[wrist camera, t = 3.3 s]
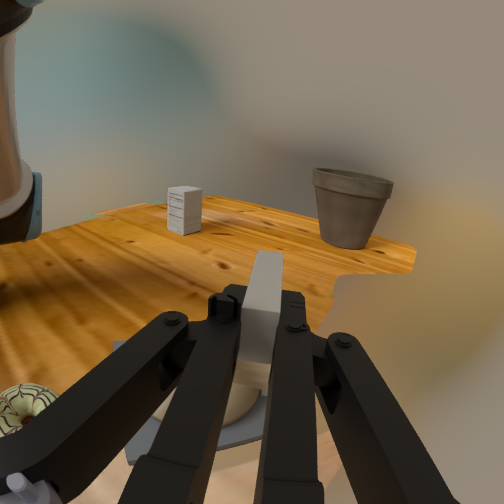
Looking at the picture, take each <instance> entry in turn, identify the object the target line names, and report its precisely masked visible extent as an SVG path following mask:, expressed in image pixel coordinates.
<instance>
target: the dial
mask: <svg viewBox="0 0 504 504" xmlns="http://www.w3.org/2000/svg"><path fill="white" fill-rule="evenodd" d="M237 358H238V356H237ZM270 369H271V364H264V363H256V362H249V361H242V360H237V363H236V370H235V374H234V379H233V383H232V387H231V391H230V395H229V400H228V404H227V408H226V412H225V416H224V420H223V424H222V427H225V426H227V425H229V424H232V423H234V422H236V421H237V420H239V419H240V418H242V417H243V416H244V415H246V414H247V413H248V412H249V410H250V409H251V408H252V407H253V405H254V404H255V402H256V400H257V398H258V394H259V389H263V390H268V385H269V384H268V380H269V374H270ZM175 390H176V388H175V389H174V390H173V391H172V393H171V394H170V395H169V396H168V397H167V399H166V400H165V401H164V402H163V403H162V404H161V405H160V407H159V408H158V409H157V410H156V411H155V412H154V414H153V415H152V416H151V417H153V418H154V419H156V420H158V421H159V422H162V420H163V417H164V415H165V413H166V410H167V408H168V406H169V403H170V401H171V399H172V396H173V394H174V392H175Z"/></svg>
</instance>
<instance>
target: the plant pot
mask: <svg viewBox="0 0 504 504" xmlns="http://www.w3.org/2000/svg"><path fill="white" fill-rule="evenodd" d="M312 183H313V185H315V192H316V201H317V209H318V217H319V226H320V233H321V238H322V240H324V241H325V242H326V243H328V244H331V245H333V246H336V247H341V248H346V249H361V248H363V247H365V245H366V243H367V242H368V240H369V238H370V236H371V234H372V232H373V229H374V227H375V225H376V223H377V221H378V219H379V217H380V215H381V212H382V210H383V208H384V205H385V203H386V201H387V199H388V198H390V196H391V193H392V188H393V182H392V181H389V180H387V179H384V178H380V177H376V176H372V175H367V174H362V173H356V172H350V171H345V170H337V169H329V168H313V178H312Z"/></svg>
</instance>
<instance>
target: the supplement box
mask: <svg viewBox="0 0 504 504" xmlns="http://www.w3.org/2000/svg"><path fill="white" fill-rule="evenodd" d="M202 193H203V190H202V189H200V188H196V187H191V186H180V187H173V188H168V219H167V229H168V230H170V231H172V232H175V233H177V234H180V235H183V236H184V235H187V234H190V233H194V232H197V231H200V230H201V214H202Z"/></svg>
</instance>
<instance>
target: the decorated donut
mask: <svg viewBox="0 0 504 504" xmlns="http://www.w3.org/2000/svg"><path fill="white" fill-rule="evenodd" d="M58 397H59V395H58V394H57V393H55V392H54V391H52V390H51V389H49V388H46V387H44V386H41V385H37V384H34V383H31V384H30V383H28V384H20V385H17V386H13V387H11V388H9V389H7V390H6V391H4V392H2V393H1V395H0V437H3V436H6V435H8V434H11V433H14V432H16V431H18V430H20V429H21V428H22V427H23V426H24V425H25V424H27V423H28V422H29V421H30V420H31V419H33V418H34V417H35V416H36V415H37V414H39V413H40V412H41V411H42V410H43V409H45V408H46V407H47V406H48V405H49V404H51V403H52V402H53V401H54V400H56V399H57V398H58Z"/></svg>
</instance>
